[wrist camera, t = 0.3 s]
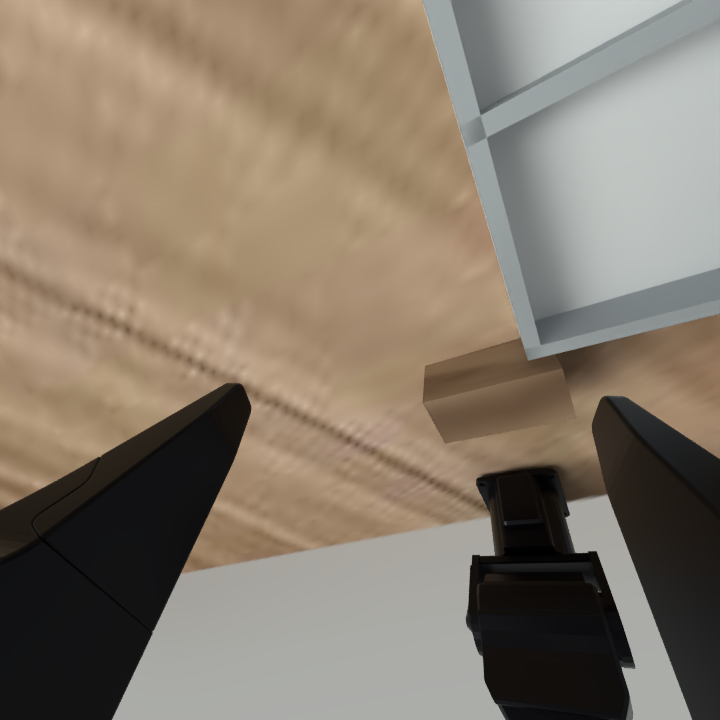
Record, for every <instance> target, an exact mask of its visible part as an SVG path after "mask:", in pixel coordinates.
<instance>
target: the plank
mask: <svg viewBox="0 0 720 720" xmlns="http://www.w3.org/2000/svg"><path fill="white" fill-rule="evenodd" d="M423 404H424V406H425V408H426V409H427V411H428V413H429V415H430V417H431V418H432V420H433V422H434V424H435V426H436V428H437V429H438V431H439V433H440V435H441V437H442V438H443V440H444V442H445V443H451V442H456V441H461V440H467V439H472V438H477V437H482V436H488V435H493V434H498V433H504V432H509V431H514V430H519V429H525V428H530V427H535V426H541V425H546V424H551V423H557V422H562V421H567V420H572V419H576V416H575V412H574V408H573V405H572V401H571V397H570V394H569V390H568V386H567V383H566V379H565V375H564V372H563V368H562V366H561V364H560V361H559V359H558V357H557V354H553V355H549V356H545V357H541V358H537V359H533V360H529V361H528V359H527V356H526V352H525V349H524V346H523V343H522V340H521V338H520V339H517V340H513V341H510V342H506V343H503V344H499V345H496V346H493V347H489V348H486V349H482V350H479V351H475V352H472V353H469V354H465V355H462V356H458V357H455V358H451V359H448V360H445V361H441V362H438V363H434V364H431V365H427V366H425V377H424V392H423Z"/></svg>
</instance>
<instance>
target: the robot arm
mask: <svg viewBox="0 0 720 720" xmlns="http://www.w3.org/2000/svg"><path fill="white" fill-rule="evenodd" d="M250 413H251V404H250V401H249V399H248V396H247V394H246V391H245V389H244V387H243V385H242V384H240V383H226V384H224V385H223V386H221V387H219V388H217V389H216V390H214V391H212V392H210V393H209V394H207V395H205V396H203V397H202V398H200V399H198V400H197V401H195V402H193V403H191V404H190V405H188V406H186V407H184V408H183V409H181V410H179V411H177V412H176V413H174V414H172V415H171V416H169V417H167V418H165V419H164V420H162V421H160V422H158V423H157V424H155V425H153V426H151V427H150V428H148V429H146V430H145V431H143V432H141V433H139V434H138V435H136V436H134V437H132V438H131V439H129V440H127V441H125V442H124V443H122V444H120V445H119V446H117V447H115V448H113V449H112V450H110V451H108V452H106V453H105V454H103V455H102V456H101V457H98V458H96V459H94V460H92V461H91V462H89V463H87V464H86V465H84V466H82V467H80V468H78V469H77V470H75V471H73V472H71V473H70V474H68V475H66V476H64V477H62V478H61V479H59V480H57V481H55V482H53V483H51V484H49V485H47V486H46V487H44V488H42V489H40V490H38V491H36V492H34V493H32V494H30V495H28V496H26V497H25V498H23V499H21V500H19V501H17V502H15V503H13V504H11V505H9V506H7V507H5V508H3V509H1V510H0V720H112V718H113V716H114V714H115V712H116V710H117V708H118V706H119V703H120V701H121V699H122V697H123V695H124V693H125V691H126V688H127V687H128V684H129V682H130V680H131V678H132V676H133V674H134V672H135V670H136V667H137V665H138V663H139V661H140V659H141V657H142V655H143V653H144V650H145V649H146V646H147V644H148V642H149V640H150V638H151V636H152V634H153V633H152V631H153V630H154V629H155V627H156V625H157V622H158V620H159V618H160V616H161V614H162V612H163V610H164V608H165V606H166V604H167V601H168V599H169V597H170V595H171V593H172V591H173V589H174V587H175V584H176V582H177V580H178V578H179V576H180V574H181V572H182V570H183V568H184V565H185V563H186V561H187V559H188V557H189V555H190V553H191V551H192V548H193V546H194V544H195V542H196V540H197V538H198V536H199V534H200V531H201V529H202V527H203V525H204V523H205V521H206V519H207V517H208V515H209V512H210V510H211V508H212V506H213V504H214V502H215V500H216V498H217V495H218V493H219V491H220V489H221V487H222V485H223V483H224V481H225V478H226V476H227V474H228V472H229V470H230V468H231V466H232V463H233V461H234V459H235V456H236V454H237V451H238V448H239V445H240V442H241V439H242V437H243V434H244V431H245V428H246V425H247V422H248V419H249V417H250ZM592 433H593V437H594V441H595V445H596V449H597V453H598V458H599V462H600V466H601V470H602V474H603V478H604V483H605V486H606V490H607V494H608V496H609V499H610V502H611V505H612V508H613V510H614V513H615V515H616V518H617V521H618V524H619V526H620V528H621V532H622V534H623V537H624V539H625V542H626V545H627V548H628V550H629V553H630V556H631V558H632V561H633V563H634V566H635V569H636V571H637V574H638V577H639V579H640V582H641V585H642V587H643V590H644V593H645V595H646V598H647V600H648V603H649V606H650V609H651V611H652V614H653V616H654V619H655V622H656V625H657V627H658V630H659V632H660V635H661V638H662V640H663V643H664V646H665V648H666V651H667V654H668V656H669V659H670V662H671V664H672V667H673V670H674V672H675V675H676V678H677V680H678V683H679V686H680V688H681V691H682V693H683V696H684V699H685V701H686V704H687V707H688V709H689V712H690V714H691V717H692V720H720V459H719V458H717V457H716V456H714V455H713V454H711V453H710V452H708V451H707V450H705V449H704V448H702V447H701V446H699V445H698V444H696V443H695V442H693V441H692V440H690V439H689V438H687V437H685V436H684V435H682V434H681V433H679V432H678V431H676V430H675V429H673V428H672V427H670V426H669V425H667V424H666V423H664V422H663V421H661V420H660V419H658V418H657V417H655V416H654V415H652V414H651V413H649V412H648V411H646V410H645V409H643V408H642V407H640V406H639V405H637V404H636V403H634V402H633V401H631V400H630V399H628V398H626V397H623V396H604V397H602V398H601V400H600V402H599V405H598V408H597V410H596V413H595V416H594V419H593V422H592ZM476 485H477V487H478V490H479V492H480V494H481V496H482V498H483V500H484V502H485V504H486V506H487V508H488V510H489V512H490V515H491V524H492V532H493V542H494V551H495V556H480V555H472V565H471V566H470V585H469V604H468V610H467V615H466V624H467V627H468V628H469V629H470V630H471V631H472V633H473V636H474V641H475V644H476V647H477V650H478V652H479V654H480V655H481V656H483V663H484V680H485V683H486V685H487V687H488V689H489V692H490V694H491V696H492V698H493V700H494V702H495V703H496V704H498V706H499V708H500V710H501V712H502V714H503V715H504V717H505V719H506V720H632V719H633V710H632V706H631V701H630V696H629V691H628V688H627V685H626V681H625V679H624V675H623V672H622V668H621V667H624V668H632V669H635V664H634V661H633V657H632V654H631V650H630V647H629V644H628V641H627V637H626V634H625V631H624V628H623V625H622V622H621V619H620V616H619V613H618V610H617V607H616V604H615V602H614V599H613V596H612V593H611V590H610V588H609V585H608V582H607V579H606V576H605V574H604V571H603V568H602V565H601V563H600V560H599V557H598V554H597V552H596V551H589V552H588V553H575V550H574V547H573V543H572V540H571V536H570V533H569V529H568V526H567V522H566V519H565V517H568V516H569V515H570V513H569V510H568V507H567V503H566V500H565V496H564V493H563V490H562V486H561V483H560V480H559V476H558V473H557V471H556V470H555V469H544V470H536V471H528V472H519V473H511V474H503V475H495V476H487V477H480V478H477V479H476ZM598 591H599V592H598Z"/></svg>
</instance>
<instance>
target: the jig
mask: <svg viewBox="0 0 720 720" xmlns="http://www.w3.org/2000/svg"><path fill="white" fill-rule="evenodd" d="M422 3H423V6H424V10H425V13H426V16H427V20H428V23H429V27H430V30H431V34H432V37H433V40H434V44H435V47H436V51H437V54H438V57H439V61H440V64H441V68H442V71H443V74H444V78H445V81H446V85H447V88H448V92H449V95H450V98H451V102H452V105H453V109H454V112H455V115H456V119H457V122H458V126H459V129H460V133H461V136H462V139H463V143H464V146H465V150H466V153H467V156H468V160H469V163H470V167H471V170H472V173H473V177H474V180H475V184H476V187H477V191H478V194H479V197H480V201H481V204H482V208H483V211H484V214H485V218H486V221H487V225H488V228H489V232H490V235H491V238H492V242H493V245H494V249H495V252H496V255H497V259H498V262H499V266H500V269H501V273H502V276H503V279H504V283H505V286H506V290H507V293H508V296H509V300H510V303H511V307H512V310H513V313H514V317H515V320H516V324H517V327H518V330H519V334H520V337H521V340H522V343H523V346H524V349H525V352H526V356H527V359H528V361H529V360H533V359H537V358H541V357H545V356H549V355H553V354H557V353H562V352H566V351H570V350H574V349H578V348H582V347H586V346H590V345H594V344H598V343H602V342H606V341H611V340H615V339H619V338H623V337H627V336H631V335H635V334H639V333H643V332H647V331H651V330H655V329H660V328H664V327H668V326H672V325H676V324H680V323H684V322H688V321H692V320H696V319H700V318H704V317H709V316H713V315H717V314H720V0H422Z"/></svg>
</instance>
